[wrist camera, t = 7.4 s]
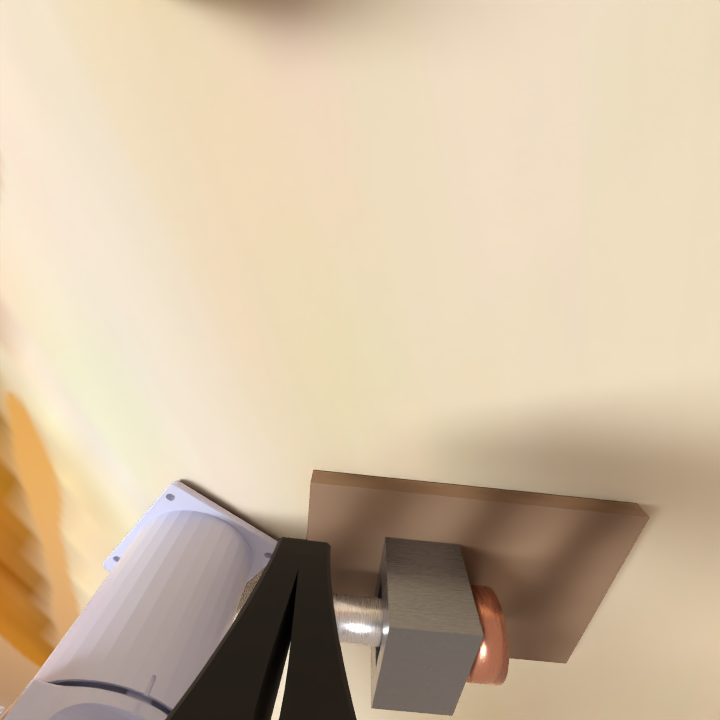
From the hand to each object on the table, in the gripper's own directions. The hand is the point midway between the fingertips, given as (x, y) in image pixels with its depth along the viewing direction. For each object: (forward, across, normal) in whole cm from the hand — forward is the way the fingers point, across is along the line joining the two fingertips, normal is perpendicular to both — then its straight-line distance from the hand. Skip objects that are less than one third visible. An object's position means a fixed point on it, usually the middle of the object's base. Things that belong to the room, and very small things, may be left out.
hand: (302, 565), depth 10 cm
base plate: (+9, -9, +12) cm, 17 cm away
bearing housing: (+9, -6, +12) cm, 16 cm away
